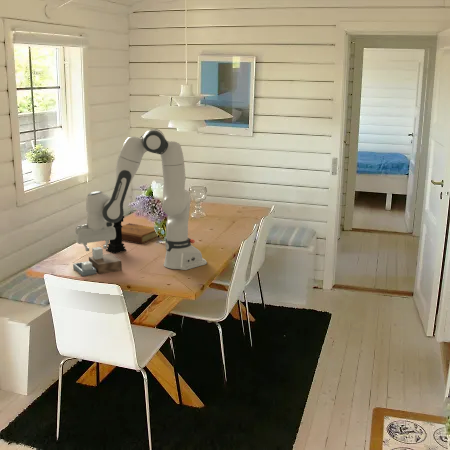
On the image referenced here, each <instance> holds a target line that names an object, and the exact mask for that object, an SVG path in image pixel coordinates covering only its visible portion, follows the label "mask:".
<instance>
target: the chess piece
mask: <svg viewBox="0 0 450 450" xmlns="http://www.w3.org/2000/svg"><path fill="white" fill-rule="evenodd" d="M124 219H125V215H123V218H122V219H121V220H120V221H119V222H116V223H114V226H113V227H114V228H115V231H116V238H115V239H113V240H109V243H108V245H107V249H105V251H106V252H108V253H111V254H113V255H114V254H119V253H123V252H127V249H126V246H125V243H123V240H122V226H123V225H122V222H123V223H124Z"/></svg>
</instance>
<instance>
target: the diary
mask: <svg viewBox="0 0 450 450" xmlns="http://www.w3.org/2000/svg"><path fill="white" fill-rule="evenodd" d="M121 226H122V242H123V241H124V242H128V241H129V243H135V244H138V245H139V244H141V245H143V244H146V243H148V242H150V241H153V240H156V239H157V234H156V232H155V230H154V226H149V225H148V226H147V225H141V224H137V223H130V222H129V223H126V224H123V225H121Z"/></svg>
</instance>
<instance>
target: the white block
mask: <svg viewBox="0 0 450 450" xmlns="http://www.w3.org/2000/svg"><path fill="white" fill-rule="evenodd" d="M103 249H104V248H103V247H101V246H97V247H92V248H91V250H92V256H93V258H94V259H101V258H103V255H104V251H103Z"/></svg>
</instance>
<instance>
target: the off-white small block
mask: <svg viewBox="0 0 450 450" xmlns="http://www.w3.org/2000/svg"><path fill="white" fill-rule="evenodd" d="M81 262H82V270H83V271H86V270H92V263H91V262H90V261H89V260H87V262H86V261H81Z"/></svg>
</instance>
